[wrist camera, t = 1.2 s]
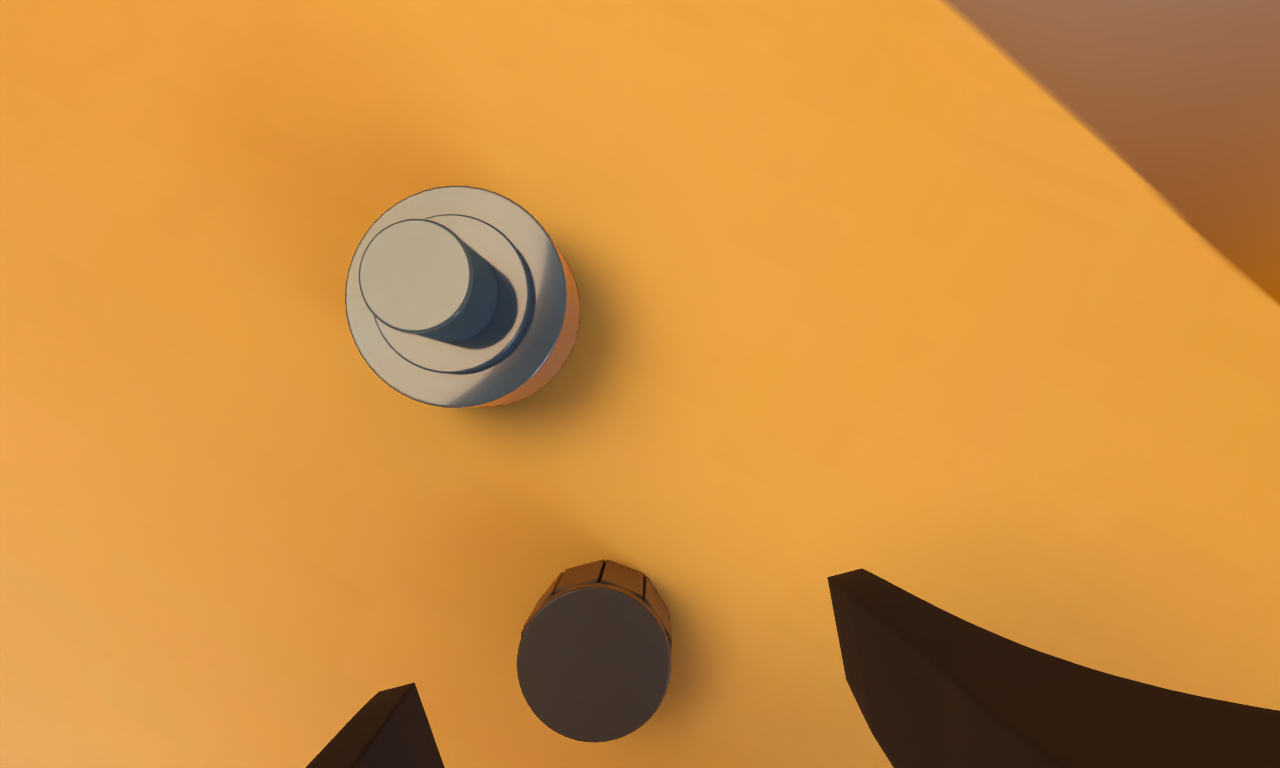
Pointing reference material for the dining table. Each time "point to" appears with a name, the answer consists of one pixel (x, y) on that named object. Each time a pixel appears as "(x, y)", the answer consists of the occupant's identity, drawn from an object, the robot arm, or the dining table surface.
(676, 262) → the dining table surface
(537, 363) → the bottle
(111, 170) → the dining table surface
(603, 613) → the cap
